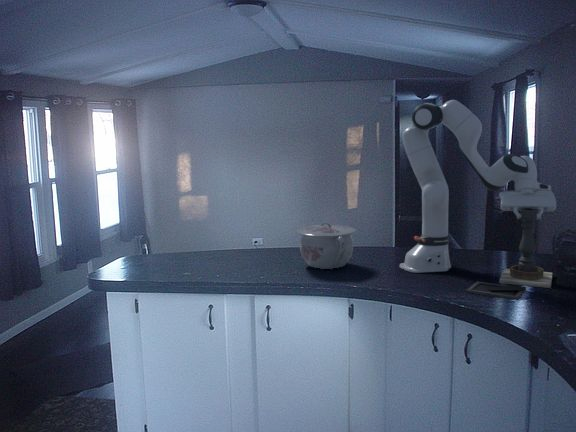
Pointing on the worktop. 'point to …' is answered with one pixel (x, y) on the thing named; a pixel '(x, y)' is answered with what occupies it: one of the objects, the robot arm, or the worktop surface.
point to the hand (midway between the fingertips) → (528, 218)
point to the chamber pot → (326, 245)
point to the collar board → (526, 277)
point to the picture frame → (497, 290)
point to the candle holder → (527, 240)
